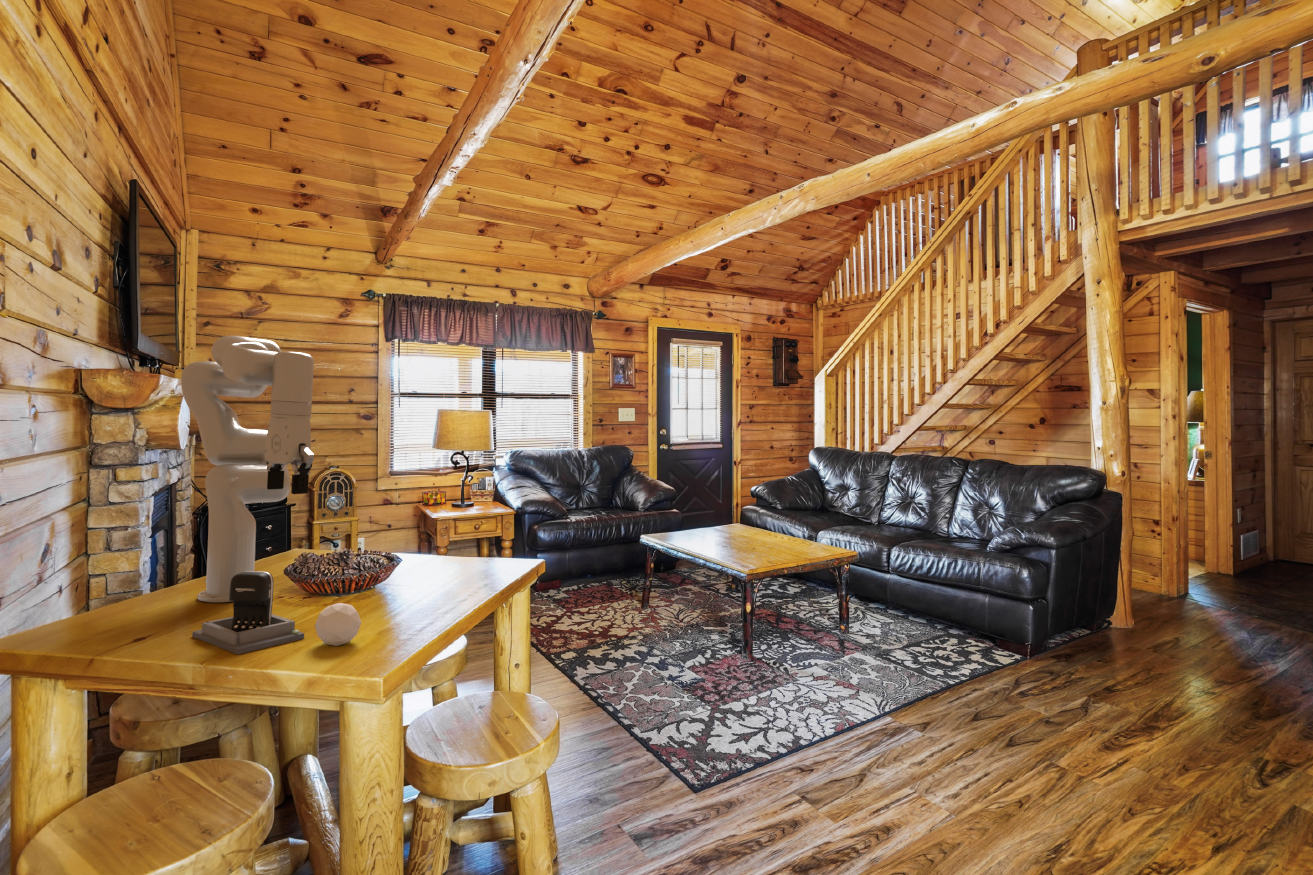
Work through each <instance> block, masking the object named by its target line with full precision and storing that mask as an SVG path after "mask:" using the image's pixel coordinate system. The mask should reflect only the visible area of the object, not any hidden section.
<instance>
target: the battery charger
mask: <svg viewBox="0 0 1313 875" xmlns="http://www.w3.org/2000/svg"><path fill="white" fill-rule="evenodd" d="M229 600H230V601H233V602H232V603H233V606H232V608H233V613H232V614H233V616H232V617H233V622H232V626H231V630H233V631H235V632H241V631H245V630H250V629H255V628H259V627H264V626H269V625H271V614H273V612H272V611H273V600H274V577H273V575H272V573H270V572H268V571H260V570H259V571H255V570H254V571H244V572H241V573H239V574H237V575H235V576H233V578H232V579H231V583H230V593H229Z"/></svg>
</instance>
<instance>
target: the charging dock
mask: <svg viewBox="0 0 1313 875" xmlns="http://www.w3.org/2000/svg"><path fill="white" fill-rule="evenodd" d="M232 622H233V616H230V617H225V618H219V619H214V620H210V621H209V620H208V621H204V622H202V623H201V629H198V630H195V631H194V630H193V631H192V635H191V636H192V638H194V639H198V640H199V641H203V642H205V643H208V644H210V645H213V646H215V647H217V648H219V649H223V650H225V651H228V652H230V653H232V654H235V655H241V654H247V653H250V652H251V653H252V652H254V651H257V650H263V649H267V648H271V647H275V646H278V645H283V644H287V643H291V642H295V641H299V640H305V633H304V632H301V631H300V629H296V621H294V620H292V619H289V618H285V617H283V616H280V615H276V614H273V613H272V614H271V625H269V626H264V627H259V628H255V629H250V630H245V631H241V632H235V631H233V630H231V626H232Z"/></svg>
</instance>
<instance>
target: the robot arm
mask: <svg viewBox="0 0 1313 875" xmlns="http://www.w3.org/2000/svg"><path fill="white" fill-rule="evenodd" d="M210 352H211V356H212V359H213V360H214V361H206V360H203V361H194V362H191V363H188V364H187V365H185V367H184V368H183V370H182V373H181V378H180V385H181V393H182V395H183V399H184V401H185V403H186V405H187V408H188V409H189V410H190V412H191V414H192V415H193V417H194V419H195V421H196V423H197V426H198V432H199V435H200V438H201V443H202V447H203V450H204V455H205V457H206V459H207V460H208V463H210V464H212V465H214V467H213V468H211V469H209V471H208V472H207V474H206V475H205V485H204V486H205V493H206V498H207V506H208V528H207V529H208V532H207V533H208V536H207V538H208V539H207V554H206V555H207V557H206V558H207V559H206V578H205V579H204V582H205V585H206V586H205V590H203V591H200V592H199V593H198V594H197V600H198V601H199V602H200V601H201V602H205V603H231V602H232V603H233V601H230V600H229V593H230V583H231V579H232V578H233V576H235V575H237V574H239V573H241V572H244V571H255V562H256V538H257V537H256V535H257V522H256V519H255V517H254V514H252V513H251V511H250V510H249V509H248V508H247V507H246V504H247V505H249V504H258V503H277V502H280V501H283V500H284V499H286V498H287V497H288V496H289V494H290V493H291V494H292V495H306V494H308V493H309V479H310V475H311V469H312V467H313V462H314V460H315V454H314V452H312V450H311V449H312V448H311V447H312V433H311V432H312V430H311V419H312V409H313V408H312V407H313V406H312V405H313V388H314V371H315V360H314V358H313V356H312V355H311V354H309V353H305V352H298V351H282V350H281V348H280V347H279V345H278V344H277V343H276V342H274V341H272V340H269V339H265V338H264V339H263V338H257V337H256V338H255V337H249V336H248V337H246V336H242V335H226V336H225V335H224V336H222V337H220V338H218V339H216V341H214V342H213V344H212V346H211V351H210ZM268 387H271V396H270V397H271V399H270V401H271V402H270V418H269V422H268V425H267V426H268V427H267V429H262V428H259V429H258V428H246V427H242V426H241V424H240V422H239V417H238V414H237V413H236V412H235V410H234V409H233V408H232V407H231V406H230V405H229V404H228V403H227V402H225V401H224V400H222V399H221V398H220V397H231V398H232V397H234V398H244V399H245V398H246V399H250V398H251V399H254V398H256V397H257V398H258V397H259V396H262V394H263V393H264V392H265V391H266V389H267V388H268ZM288 465H291V468H292V471H293V473H294V474H291V476H290V472H289V469H288Z"/></svg>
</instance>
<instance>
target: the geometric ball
mask: <svg viewBox="0 0 1313 875" xmlns="http://www.w3.org/2000/svg"><path fill="white" fill-rule="evenodd" d="M358 612H359V611H358V610H356V608H355V607H354V606H353V605H352V604H347V603H342V602H337V603H333V604H331V605H329V606H327V607H325V608H324V609H323V610H321V612H319V614H318V617H317V619H316V622H315V624H314V627H315V631H316V634H317V637H318V638H319V639H320V640H321V641H322V643H323V644H325V645H330V646H335V647H339V646H341V645H344V644H347V643H350V642H351V641H352V640H353V639H354V638H355V637H356V636H357V635H358V632H359V629H360V627H361V625H362V621H361V617H360V614H359V613H358Z"/></svg>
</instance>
